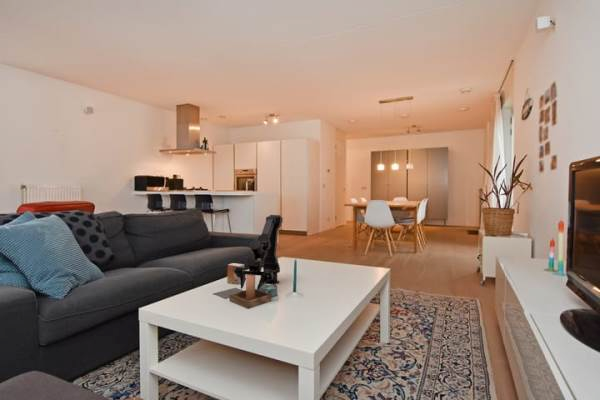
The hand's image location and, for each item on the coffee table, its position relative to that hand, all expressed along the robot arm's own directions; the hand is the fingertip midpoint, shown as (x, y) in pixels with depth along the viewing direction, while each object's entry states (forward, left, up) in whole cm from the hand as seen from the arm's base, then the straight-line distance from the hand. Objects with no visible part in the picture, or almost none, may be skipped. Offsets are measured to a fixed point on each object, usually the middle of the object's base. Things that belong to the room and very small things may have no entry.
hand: (249, 289), depth 150 cm
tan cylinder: (-1, -1, -6) cm, 6 cm away
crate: (-1, -1, -7) cm, 7 cm away
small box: (-15, -32, -7) cm, 36 cm away
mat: (-1, -17, -7) cm, 18 cm away
